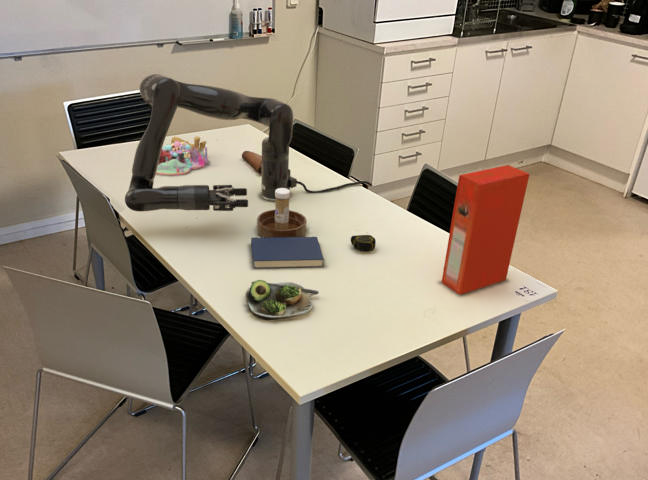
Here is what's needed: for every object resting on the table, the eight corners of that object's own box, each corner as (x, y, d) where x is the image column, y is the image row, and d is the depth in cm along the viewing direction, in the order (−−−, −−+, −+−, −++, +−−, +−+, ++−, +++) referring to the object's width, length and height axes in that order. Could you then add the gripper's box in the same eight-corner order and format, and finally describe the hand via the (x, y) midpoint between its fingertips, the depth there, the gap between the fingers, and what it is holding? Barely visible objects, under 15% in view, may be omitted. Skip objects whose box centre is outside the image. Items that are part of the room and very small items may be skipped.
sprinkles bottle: (271, 230, 210) (272, 190, 203) (281, 225, 213) (282, 186, 206) (282, 234, 208) (283, 194, 200) (291, 230, 211) (293, 190, 203)
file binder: (440, 282, 187) (459, 174, 170) (485, 268, 195) (507, 164, 178) (460, 295, 182) (481, 185, 165) (505, 280, 189) (530, 174, 173)
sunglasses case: (279, 171, 252) (270, 158, 248) (264, 182, 252) (255, 169, 247) (261, 156, 266) (253, 143, 261) (247, 166, 265) (238, 153, 261)
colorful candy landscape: (157, 150, 268) (155, 127, 263) (214, 155, 266) (213, 132, 261) (135, 172, 247) (133, 148, 242) (197, 178, 245) (196, 154, 240)
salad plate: (311, 282, 184) (312, 267, 182) (327, 317, 170) (328, 302, 167) (241, 288, 180) (241, 273, 178) (252, 324, 166) (252, 309, 163)
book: (251, 245, 201) (251, 237, 200) (316, 244, 204) (317, 236, 202) (253, 268, 190) (253, 260, 188) (323, 267, 192) (323, 259, 191)
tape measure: (371, 243, 206) (372, 232, 204) (377, 254, 200) (378, 242, 198) (350, 244, 205) (350, 233, 203) (355, 255, 199) (356, 243, 197)
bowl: (282, 216, 220) (282, 205, 218) (315, 232, 211) (316, 221, 209) (247, 229, 210) (247, 218, 208) (280, 247, 201) (280, 235, 199)
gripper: (192, 195, 193) (248, 195, 195) (193, 177, 205) (246, 177, 207) (193, 219, 197) (248, 218, 199) (194, 199, 209) (246, 199, 211)
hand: (247, 197), depth 203 cm, fingers open, 8 cm apart
